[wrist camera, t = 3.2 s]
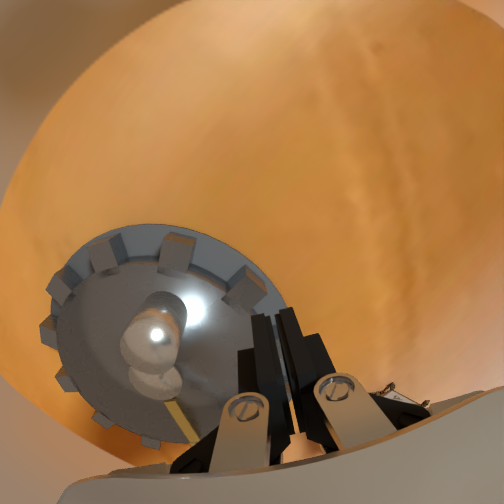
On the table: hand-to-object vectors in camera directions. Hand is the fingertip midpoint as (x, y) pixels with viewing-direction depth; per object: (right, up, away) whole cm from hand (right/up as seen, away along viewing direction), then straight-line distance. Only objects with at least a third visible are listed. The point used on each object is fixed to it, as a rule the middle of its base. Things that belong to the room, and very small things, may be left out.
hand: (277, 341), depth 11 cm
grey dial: (-8, -5, +10) cm, 14 cm away
